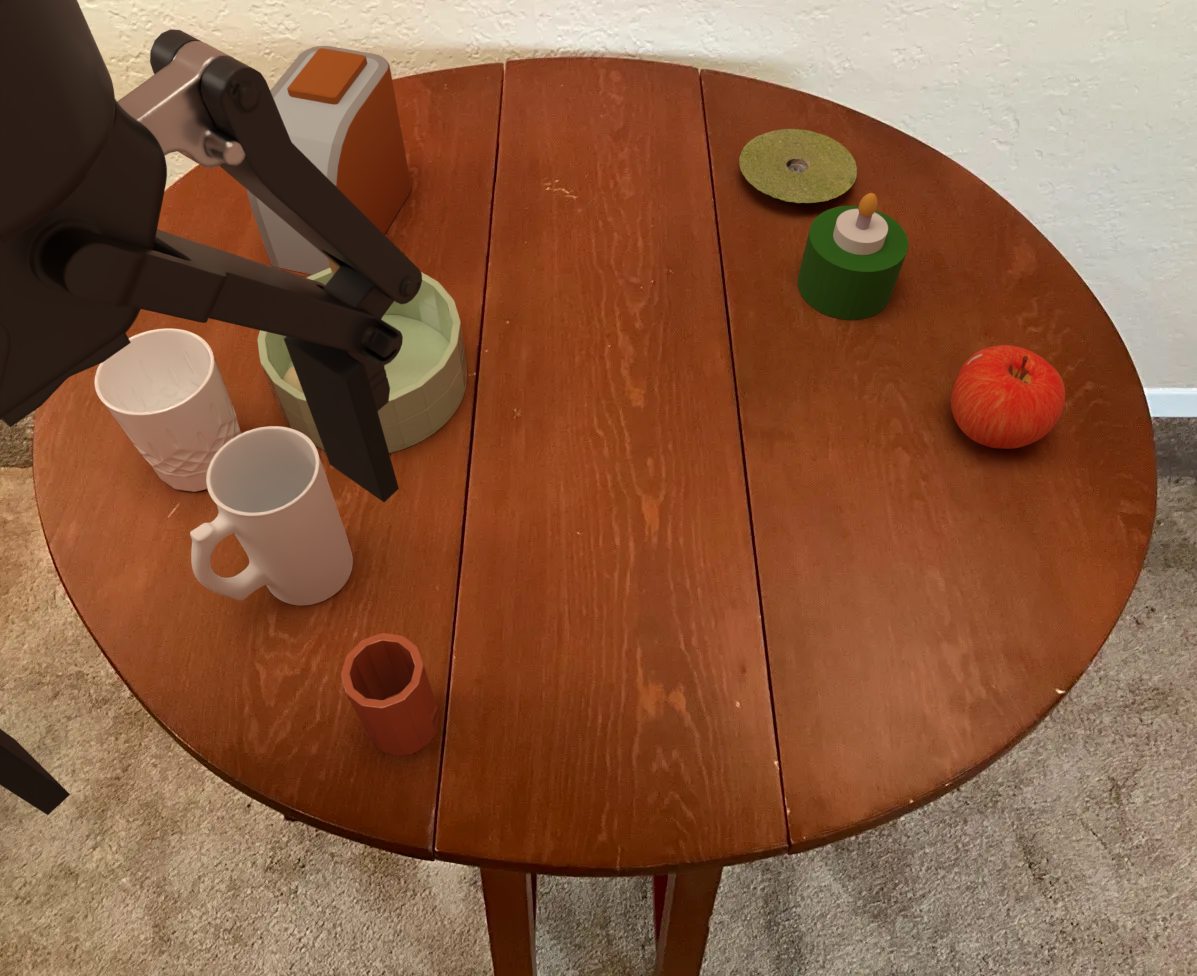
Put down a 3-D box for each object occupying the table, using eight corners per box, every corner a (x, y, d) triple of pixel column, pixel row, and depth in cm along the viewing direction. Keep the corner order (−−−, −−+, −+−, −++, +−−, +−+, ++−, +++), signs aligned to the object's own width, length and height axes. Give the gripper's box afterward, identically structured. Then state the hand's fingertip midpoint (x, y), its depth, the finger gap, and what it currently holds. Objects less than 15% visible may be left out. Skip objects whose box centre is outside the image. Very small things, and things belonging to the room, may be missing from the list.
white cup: (221, 401, 77) (178, 311, 69) (274, 459, 74) (235, 373, 66) (130, 453, 74) (73, 366, 66) (181, 517, 71) (128, 434, 63)
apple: (921, 434, 76) (953, 366, 70) (965, 373, 80) (999, 303, 73) (1016, 485, 74) (1058, 419, 67) (1057, 419, 77) (1101, 351, 71)
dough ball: (288, 405, 77) (309, 413, 75) (268, 376, 75) (289, 383, 73) (316, 382, 78) (336, 389, 76) (297, 353, 76) (318, 359, 75)
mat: (874, 177, 94) (879, 160, 93) (811, 235, 89) (815, 218, 88) (779, 131, 99) (782, 114, 97) (713, 183, 94) (715, 166, 92)
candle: (778, 282, 86) (798, 189, 78) (839, 241, 89) (865, 148, 81) (849, 334, 82) (878, 243, 74) (910, 290, 86) (945, 197, 77)
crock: (352, 727, 62) (324, 676, 55) (402, 674, 64) (381, 619, 58) (404, 770, 60) (382, 723, 54) (454, 714, 63) (438, 662, 56)
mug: (317, 511, 71) (274, 408, 62) (377, 564, 69) (342, 465, 59) (202, 601, 67) (136, 505, 57) (262, 661, 65) (203, 571, 55)
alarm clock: (337, 165, 95) (303, 32, 83) (418, 180, 93) (395, 48, 82) (267, 265, 86) (220, 133, 75) (355, 284, 85) (320, 152, 74)
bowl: (239, 394, 78) (215, 343, 73) (373, 289, 85) (360, 236, 80) (374, 489, 73) (359, 440, 68) (505, 369, 80) (500, 317, 75)
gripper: (-1745, 755, 7) (-77, 1043, 24) (508, -264, 18) (545, 428, 36) (-1728, 298, 9) (-228, 855, 27) (243, -346, 21) (398, 337, 38)
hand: (214, 612), depth 31 cm, fingers open, 13 cm apart
